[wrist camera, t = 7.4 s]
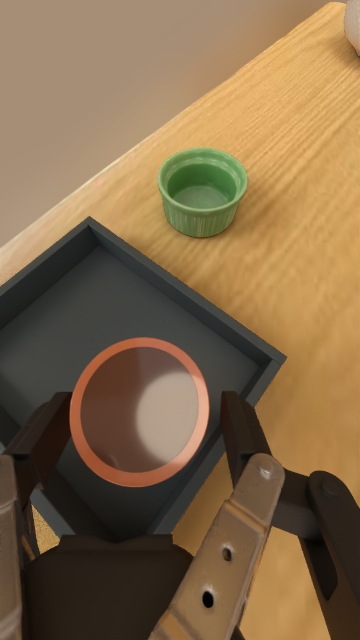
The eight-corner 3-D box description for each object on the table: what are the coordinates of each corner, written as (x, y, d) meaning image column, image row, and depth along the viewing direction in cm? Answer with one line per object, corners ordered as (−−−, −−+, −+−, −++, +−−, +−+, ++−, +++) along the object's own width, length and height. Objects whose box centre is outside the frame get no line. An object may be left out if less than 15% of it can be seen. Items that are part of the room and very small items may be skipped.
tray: (131, 569, 15) (117, 613, 12) (-44, 364, 21) (-87, 355, 17) (270, 365, 20) (287, 356, 17) (101, 241, 26) (89, 215, 22)
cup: (162, 470, 17) (143, 528, 9) (104, 412, 18) (38, 414, 10) (212, 401, 19) (237, 393, 10) (155, 353, 20) (136, 312, 12)
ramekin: (145, 218, 27) (138, 183, 23) (190, 174, 29) (192, 135, 25) (210, 256, 25) (215, 225, 21) (252, 205, 27) (264, 169, 23)
